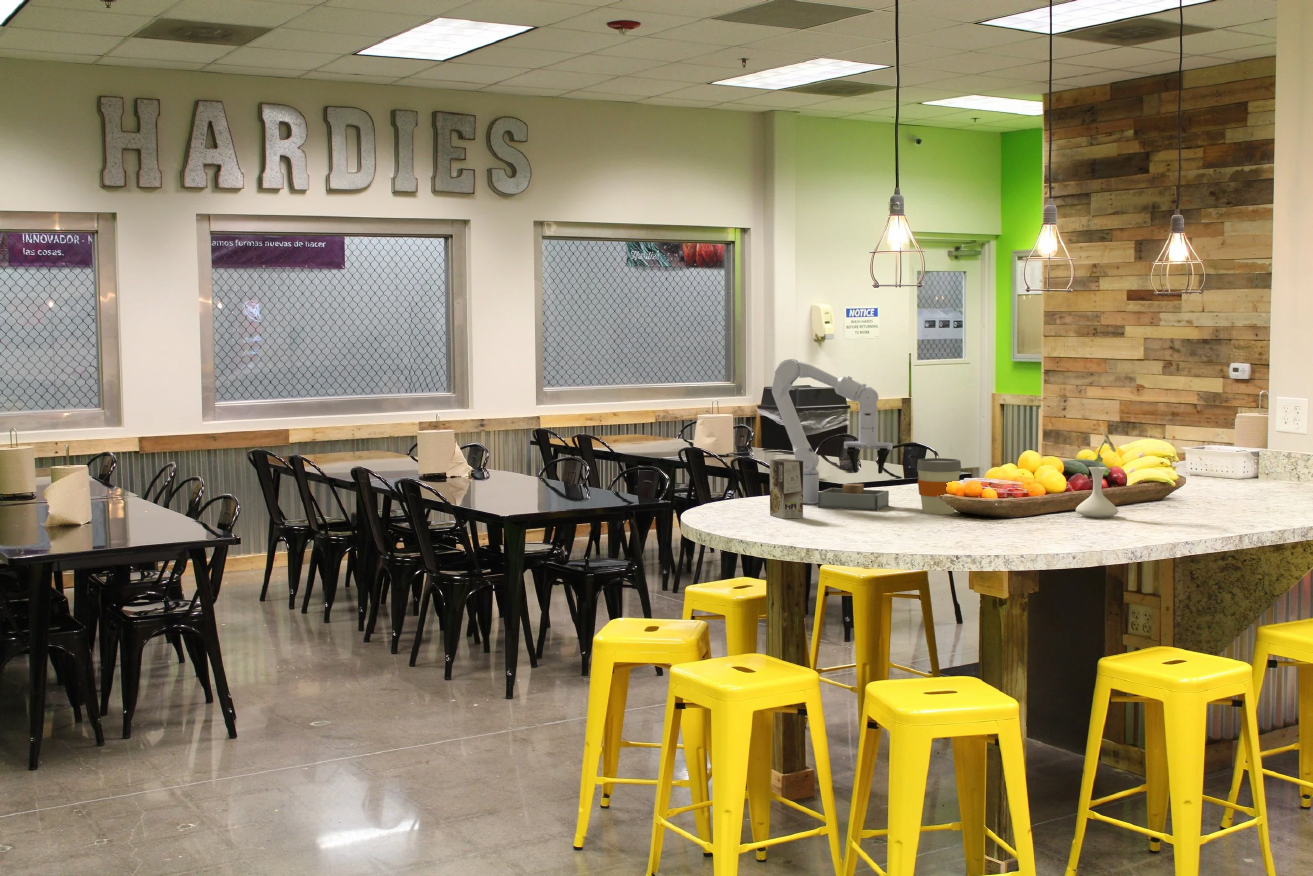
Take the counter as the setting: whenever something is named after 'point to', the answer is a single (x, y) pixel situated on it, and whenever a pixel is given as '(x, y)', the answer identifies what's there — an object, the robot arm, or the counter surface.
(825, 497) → the slate bin
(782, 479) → the coffee box
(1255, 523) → the counter surface
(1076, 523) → the counter surface
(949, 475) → the reusable coffee cup
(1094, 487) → the flower in vase
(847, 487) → the walnut block
